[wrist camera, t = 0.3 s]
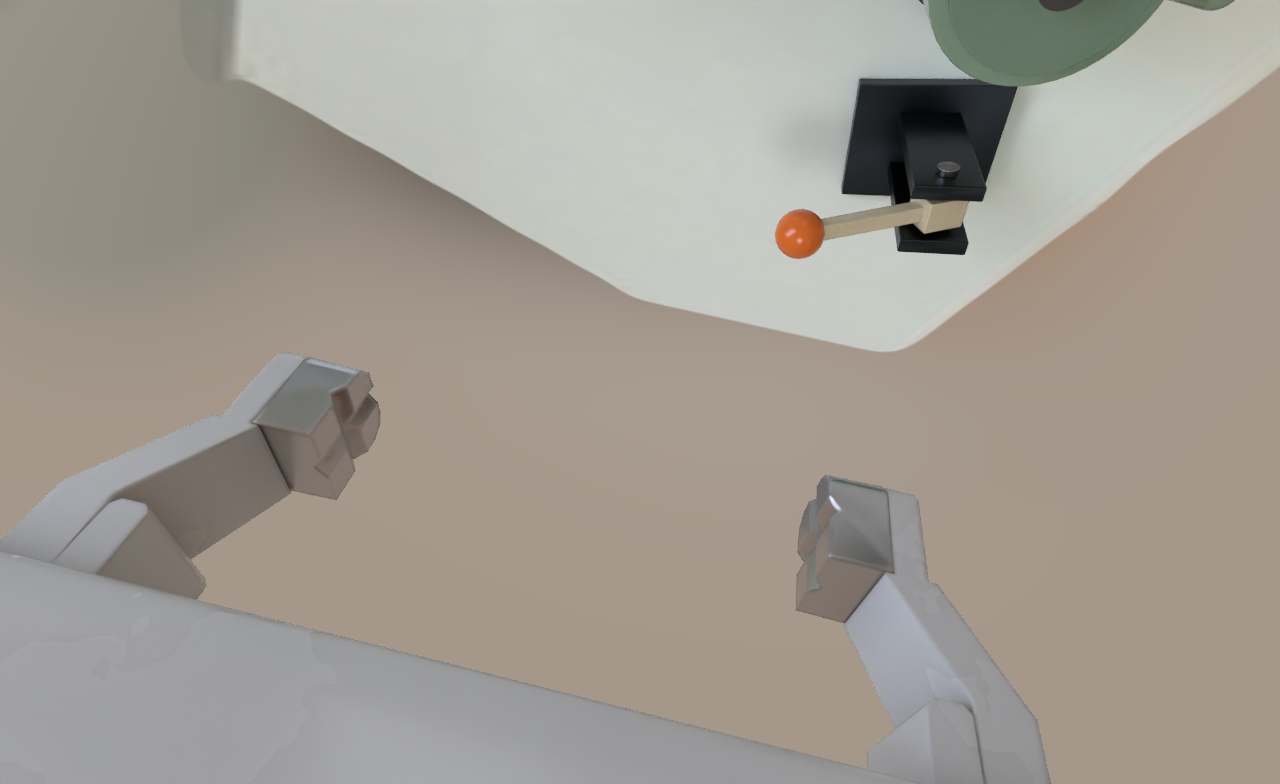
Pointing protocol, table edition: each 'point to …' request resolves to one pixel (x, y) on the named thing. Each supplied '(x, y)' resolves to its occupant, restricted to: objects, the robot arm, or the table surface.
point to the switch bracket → (925, 147)
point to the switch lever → (864, 223)
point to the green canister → (1037, 34)
